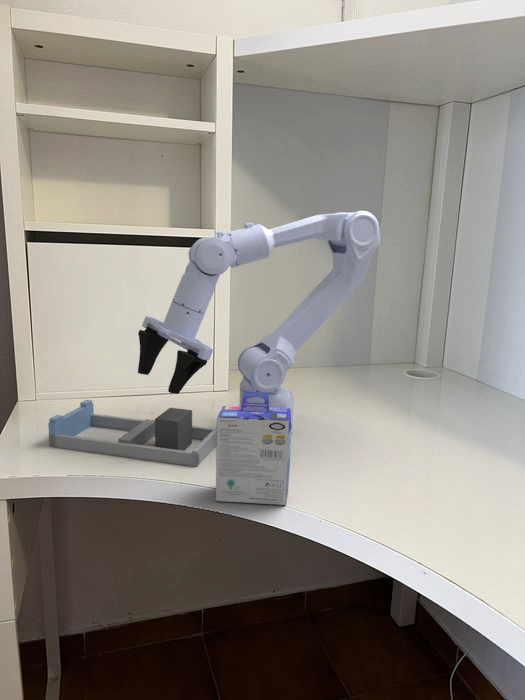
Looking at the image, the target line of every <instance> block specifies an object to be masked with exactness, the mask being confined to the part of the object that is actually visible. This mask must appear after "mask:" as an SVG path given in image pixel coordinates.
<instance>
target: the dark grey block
mask: <svg viewBox="0 0 525 700" xmlns="http://www.w3.org/2000/svg"><path fill="white" fill-rule="evenodd" d="M154 420H155V436H154V439H155V441H154V444H155V445H154V447H159V448H167V449H174V450H182V451H187V449H188V448H189V447H190V446H191V445H192V444H193V438H192V426H193V410H191V409H184V408H176V407H169V408H167V409H166V410H165V411H163V412H162V413H161V414H160V415H158V416H156V417H155V418H154Z"/></svg>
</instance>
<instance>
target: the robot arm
mask: <svg viewBox="0 0 525 700" xmlns="http://www.w3.org/2000/svg"><path fill="white" fill-rule="evenodd" d="M380 234H381V232H380V224H379V221H378V220H377V217H376V216H375V215H374V214H372V213H371V212H369V211H366V210H358V211H355V212H354V211H353V212H345V211H339V212H335V213H325V214H324V213H323V214H316V215H313V216H308V217H306V218H303V219H299V220H296V221H293V222H289V223H286V224H284V225H279V226H276V227H273V228H269V229H268V228H266V227H265V226H264V225H262V224H259V223H257V224H254V222H247V223H244V224H243V227H242V228H239V229H235V230H232V231H228V232H224V230H220V231H216V236H211V237H200V238H199V239H198V240H195V242H194V243H192V246H191V247H189V249H188V260H189V261H188V263H187V265H186V267H185V271H184V273H183V274H182V276H181V278H180V280H179V282H178V286H177V287H176V288H177V289H176V290H175V293H174V294H173V298H172V301H171V303H170V305H169V308H168V310H167V312H166V315H165V318H164V320H163V322H162V321H160V320H159V319H156V318H154V317H151V316H148V315H145V317H144V320H143V322H142V325H141V326H142V328H145V329H144V330H143V329H139V330H138V333H137V335H138V341H139V361H138V366H137V373H138V374H139V375H146V376H149V374H150V373H151V371H152V369H153V367H154V365H155V363H156V360H157V359H158V356H159V355H160V353H161V352H162V350H163V348H164V347H165V346H166V345H167V344H168V342H172V343H174V344H175V345H178V347H180V348H182V349H183V350H180V349H179V350H177V352H176V361H175V368H174V371H173V375H172V377H171V380H170V382H169V386H168V390H167V392H168V393H169V394H175V395H179V393H180V392H181V391H182V389H183V388H184V387H185V385H187V383H188V382H189V380H190V379H191V378H192V377H193V376H194V375H195V374H196V373H197V372H198V371H199V370H200V369H202V368H203V367H204V366H206V365H207V363H208V361H209V360H210V359H211V356H212V355H213V351H214V348H211V347H210V346H208V345H206V344H205V343H203V342H202V341H200V340H199V339H197V338H196V336H197V333H198V331H199V329H200V327H201V324H202V322H203V320H204V317H205V316H206V315H205V314H206V312H207V310H208V307H209V304H210V302H211V300H212V297H213V295H214V293H215V290H216V285H217V283H218V282H219V281H218V280H219V278H220V276H221V275H222V274H225V272H226V271H227V270H228V269H229V268H237V267H240V266H243V265H248V264H251V263H254V262H257V261H258V262H259V261H261V260H265V259H268V258H269V257H270V256H271V254H272V252H273V250H274V249H275V248H280V247H284V246H288V245H291V244H297V243H301V242H304V241H308V240H312V239H318V240H320V241H327V244H328V246H329V249H330V252H331V256H332V265H333V266H332V267H333V268H332V270H330V272H329V273H328V274H327V275H326V276H325V277H324V278H323V279H322V280H321V281H320V282H319V283H318V284H317V285H316V286H315V287H314V289H312V291H311V292H310V293H309V294H308V295H306V297H305V298H304V299H303V300H302V301H301V302H300V303H299V304H298V305H297V306H296V307H295V309H294V310H293V311H292V312H291V313H290V314H289V315H288V316H287V317H286V318H285V319H284V320H283V321H282V322H281V324H279V325H278V327H276V329H275V330H274V331H272V332H271V333H269V334H267V335H265V336H263V337H261V338H260V339H259V340H258V341H257V342H256V343H254V344H252V345H249V346H247V347H245V348H244V349H243V350H242V351H241V352H240V354H239V355H238V359H237V368H238V371H239V373H240V374H241V375H242V380H241V382H240V384H239V405H238V407H241V406H242V400H243V391H248V392H265V393H269V407H270V408H290V410H291V435H292V434H293V431H294V428H293V421H294V392H293V390H292V391H291V390H287V389H284V388H282V385H283V383H284V381H285V379H286V375H287V373H288V371H289V370H290V369H291V367H293V366H294V362H295V357H296V352H298V350H299V349H300V348H301V347H302V346H303V345H304V344H305V343H306V341H308V340H309V339H310V337H311V336H313V334H314V333H315V332H316V331H317V330H318V329H319V328H320V327H321V326H322V325H323V324H324V323H325V322H326V321H327V320H328V319H329V317H330V316H332V314H333V313H335V311H336V310H337V309H338V308H339V307H340V306H341V305H342V304H343V303H344V302H345V300H347V298H349V296H350V295H351V294H352V293H353V292H354V291H355V290H356V289H357V288H358V286H360V284H362V282H363V281H364V279H365V278H366V276H367V273H368V271H369V270H368V269H369V267H370V264H371V261H372V257H373V254H374V253H375V251H376V249H377V248H378V247H379V245H381V235H380ZM184 350H185V351H184ZM246 401H247V402H249V403H264V402H265V400H264V399H262V398H259V397H251V398H247V399H246Z"/></svg>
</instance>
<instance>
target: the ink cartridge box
mask: <svg viewBox="0 0 525 700" xmlns="http://www.w3.org/2000/svg"><path fill="white" fill-rule="evenodd" d="M251 397H259V398H262V399H264V400H265V402H264V403H249V402H247V401H246V399H247V398H251ZM220 409H221V410H220V411H219V413H218V415H216V416H217V417H216V426H217V445H216V446H215V448H216V450H215V451H216V454H215V455H216V456H215V457H216V458H215V463H216V465H215V467H216V468H215V501H216V502H223V503H224V502H227V503H245V504H246V503H247V504H263V505H280V506H281V505H282V506H286V505H287V500H288V495H289V484H290V469H291V451H292V450H291V446H292V445H291V442H292V434H291V410H290V408H270V407H269V393H265V392H248V391H243V400H242V406H241V407H239V406H234V405H233V406H230V405H229V406H228V405H224V406H222V407H221V408H220Z"/></svg>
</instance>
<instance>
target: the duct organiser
mask: <svg viewBox="0 0 525 700" xmlns="http://www.w3.org/2000/svg"><path fill="white" fill-rule="evenodd" d="M79 403H80V404H79V407H77V408H75V409H73V410H71V411H69V412H67V413H66V414H64V415H60V414H59V415H58V414H56V415H54V416H52V417H50V418H49V421H48V439H49V442H48V444H49V447H52V448H53V447H54V448H59V449H67V450H72V451H73V450H74V451H80V452H87V453H88V452H89V453H95V454H103V455H110V456H116V457H124V458H130V459H139V460H145V461H146V460H147V461H154V462H160V463H165V464H166V463H167V464H174V465H182V466H190V467H195V468H196V467H199V465H200V464H201V463H202V462H203V461H204V460H205V459H206V457H207V456H208V455H209V454H211V452H212V451H213V450H214V449H215V448H216V445H217V425H216V426H215V428H214V427H206V426H196V425H192V439H194V440H202V441H201V442H199V443H198V445H197V446H195V448H194V449H192V451H188V450H185V451H182V450H174V449H167V448H159V447H155V446H150V445H144V444H146V443H147V442H149V441H150V440H151V439H152V438H154V437H155V419H147V418H146V419H141V418H140V419H139V418H131V417H122V416H115V415H114V416H113V415H107V414H98V413H97V414H96V413H94V403H93V400H91V399H85V400H83V401H81V402H79ZM92 426H93V427H101V428H107V429H108V428H109V429H116V430H125V431H128V432H126V433H124V434H123V435H122V436H121V437H119V438H118V440H117V441H115V440H114V441H113V440H105V439H98V438H97V439H96V438H90V437H83V436H78V435H79V434H80V433H82V432H83V431H85V430H87V429H88V428H90V427H92Z"/></svg>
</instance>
